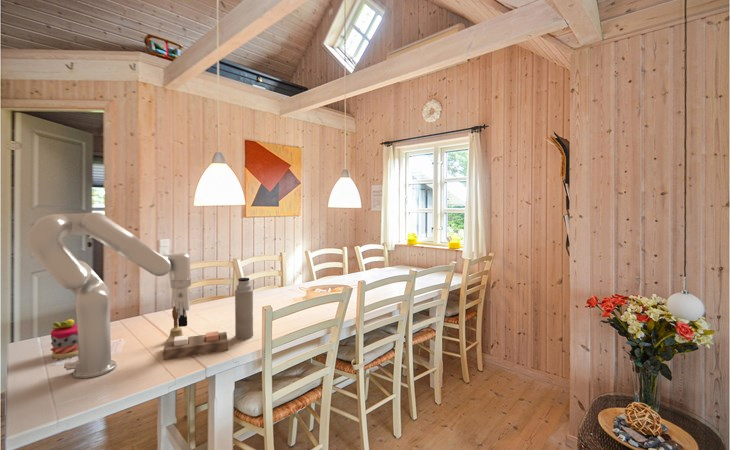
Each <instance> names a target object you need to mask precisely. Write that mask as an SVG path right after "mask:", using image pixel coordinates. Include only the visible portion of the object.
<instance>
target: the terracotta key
mask: <svg viewBox="0 0 730 450" xmlns="http://www.w3.org/2000/svg"><path fill="white" fill-rule="evenodd" d="M218 333H219V330H218V331H210V332H208V331H207V332H205V335H206V342H208V341H215V340H219V334H218Z"/></svg>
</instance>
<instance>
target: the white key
mask: <svg viewBox="0 0 730 450" xmlns="http://www.w3.org/2000/svg"><path fill="white" fill-rule="evenodd" d="M188 337H189V335H188V334H186V335H184V336H177V337H175V339H174V346H179V345H186V344H188Z"/></svg>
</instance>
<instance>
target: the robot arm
mask: <svg viewBox="0 0 730 450" xmlns="http://www.w3.org/2000/svg"><path fill="white" fill-rule="evenodd" d="M79 236H89V237H91V238H92V239H94V240H96V241H98V242H99V243H101V244H102V245H104V246H106V247H107V248H108V249H110V250H111V251H113V252H115V253H116V254H119V255H120V256H121V257H122V258H123V257H124V258H126V259H127V260H129V261H130V262H132V263H133V264H135V265H136V266H138V267H140V268H141V269H143V270H145V271H146V272H148V273H150V274H151V275H153V276H155V277H163V276H166V275H167V274H168V273H169V275H170V276H169V278H170V279H169V280H170V281H169V282H170V288H171V289H172V290H173V294H174V306H175V308H176V312H178V327H180V328H183V327H187V326H188V316H187V312H189V310H190V308H191V307H190V306H191V303H190V301H191V300H190V287H191V286H192V279H191V278H192V277H191V275H192V274H191V258H190V255H189V254H188V253H175V254H174V253H172V254H160V253H158V252H157V251H155V250H154V249H153V248H151V247H149V246H148V245H146V244H145V243H144V242H143V241H142V240H140V238H139V237H137V236H136V235H135V234H133V233H132V232H131V231H129V230H127V229H125V228H124V227H123V226H121V225H119V223H118V224H117V223H116V222H115V221H113V220H111V219H110V218H108V217H107V216H106V215H105V214H104V213H101V212H86V213H83V212H82V213H81V212H80V213H59V214H58V213H55V214H53V213H52V214H48V215H45V216H43V217H42V216H41V217H40V218H39V219H37V221H36V222H35V223H34V224H33V225H32V226H31V228H30V231H29V233H28V236H27V245H28V248H29V250H30V252H31V254H32V255H33V256H34V258H36V259H37V261H38V262H39V263H40V264H41V265H42V266H43V268H44V269H45V270H46V271H47V272H48V273H49V275H50V276H52V278H53V280H55V282H56V283H57V284H58V285H59V286H60V287H61V288H64V289H66V290H70V292H71V293H73V294H74V296H75V297H76V300H75V311H76V312H75V313H76V325H77V332H78V356H77V357H78V358H77V359H78V360H76V361H74V362H72V361H70V362H65V363H64V364H63V365H64V366H63V369H65V370H66V371H70V370H71V371H72V370H73V373H72V374H73V377H74V378H77V379H87V378H88V379H89V378H90V379H91V378H95V377H98V376H102V375H105V374H107V373H109V372H111V371H113V370H114V369H115V368H116V367H117V362H116V360H112V346H111V344H112V342H111V341H112V340H111V339H112V337H111V314H110V313H111V310H110V309H111V300H110V299H111V298H110V290H109V287H108V286H107V285H106V283H105V282H104V281H103V280H102V279H101V278H100V277H99V275H98V274H97V273H96V272H95V270H94V269H93V268H92V267H91V266H90V265H89V264H88V263H87V262H85V261H83V260H79V259H78V258H77V257H76V256H75V255H74V254H73V253H72V252H71V250H70V249H69V248H68V247H67V246H66V244H65V243H64V242H63V238H65V237H79Z"/></svg>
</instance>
